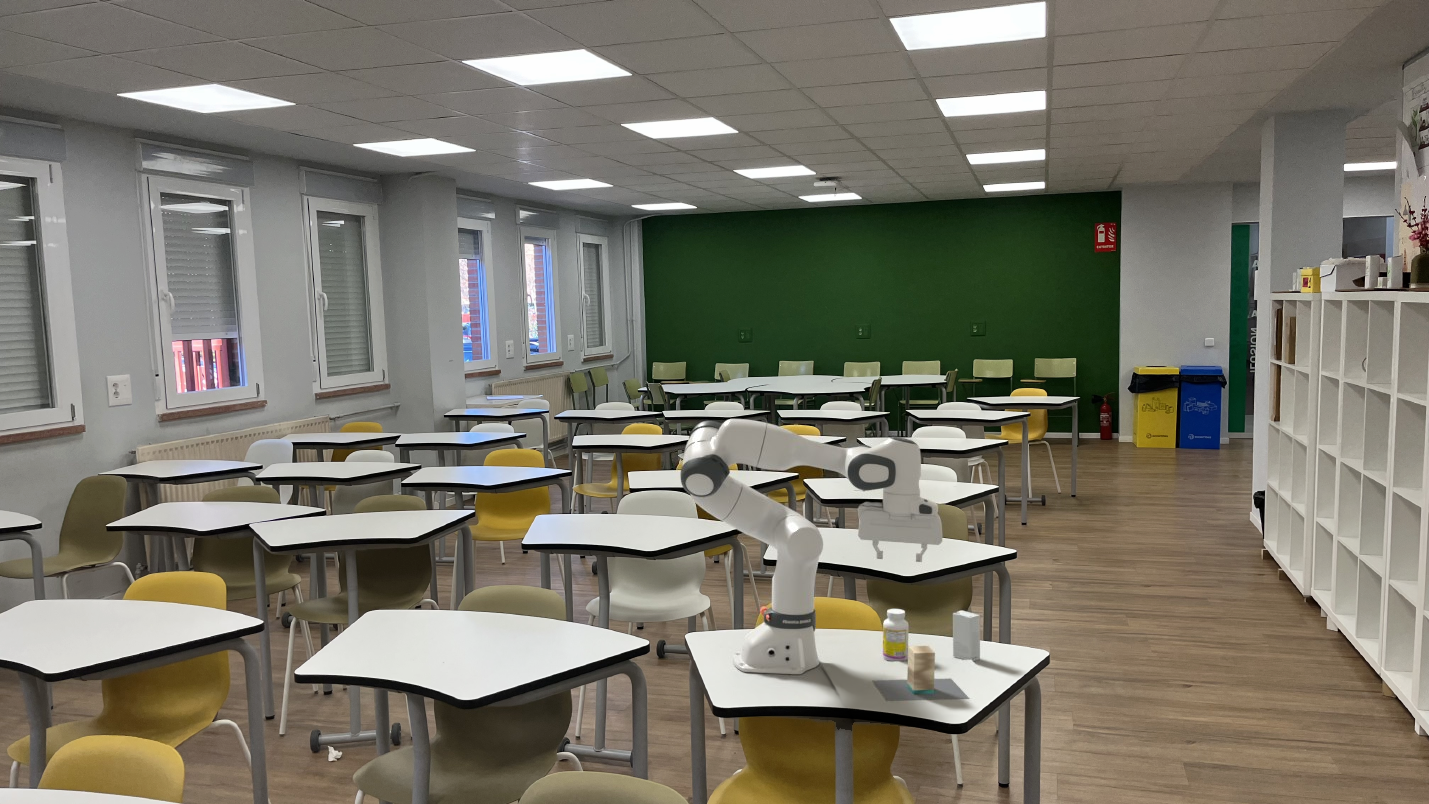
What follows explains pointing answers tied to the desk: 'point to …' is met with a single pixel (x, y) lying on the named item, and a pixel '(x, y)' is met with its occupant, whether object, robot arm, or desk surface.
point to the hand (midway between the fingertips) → (899, 560)
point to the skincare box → (966, 635)
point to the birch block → (921, 669)
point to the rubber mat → (901, 692)
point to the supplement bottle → (895, 636)
